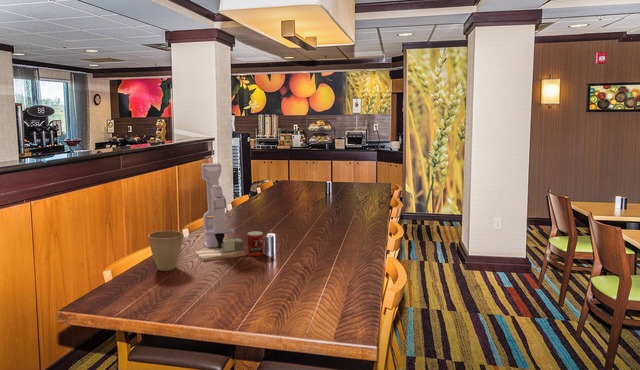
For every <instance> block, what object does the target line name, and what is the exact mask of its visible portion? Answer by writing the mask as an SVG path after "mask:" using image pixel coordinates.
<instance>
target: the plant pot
mask: <svg viewBox="0 0 640 370" xmlns="http://www.w3.org/2000/svg"><path fill="white" fill-rule="evenodd" d="M147 235H148V243H149V247H150V250H151V253H152V256H153V260H154V263H155V265H156V267H157V269H158V270H159V271H162V272H167V271H169V272H170V271H172V270H175V269H176V266H177V264H178V260H179V258H180V253H181V249H182V243H183V238H184V232H182V231H178V230H160V231H153V232H151V233H149V234H147Z"/></svg>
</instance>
